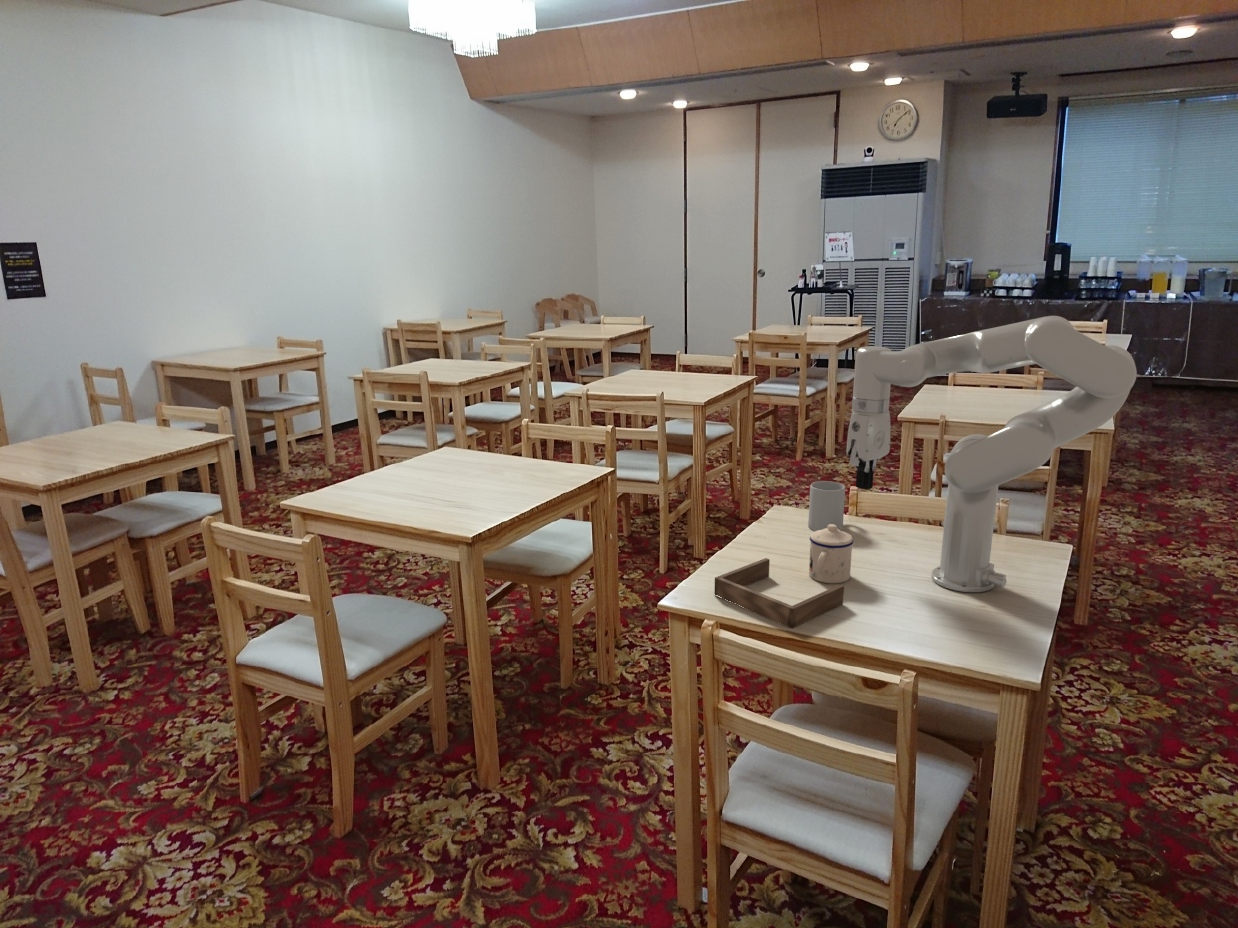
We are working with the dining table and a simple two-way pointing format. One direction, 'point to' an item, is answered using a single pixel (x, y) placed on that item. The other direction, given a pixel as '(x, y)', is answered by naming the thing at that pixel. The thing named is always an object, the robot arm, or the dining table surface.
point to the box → (788, 615)
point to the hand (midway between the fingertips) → (863, 487)
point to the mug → (826, 505)
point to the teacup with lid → (830, 555)
